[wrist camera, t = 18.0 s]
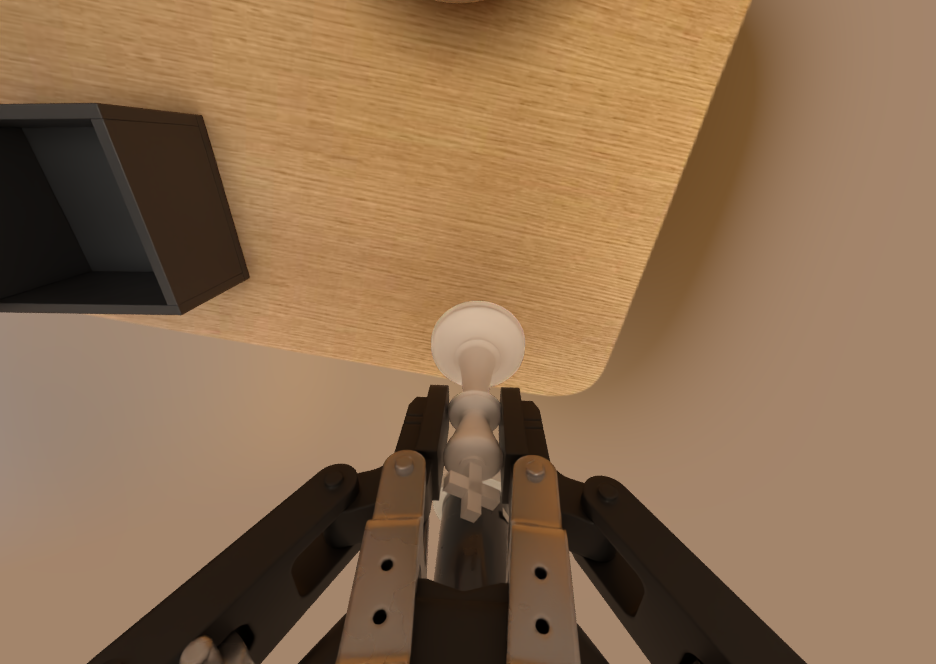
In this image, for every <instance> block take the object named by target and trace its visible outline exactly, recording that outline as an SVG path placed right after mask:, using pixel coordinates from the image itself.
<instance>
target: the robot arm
mask: <svg viewBox="0 0 936 664" xmlns="http://www.w3.org/2000/svg"><path fill="white" fill-rule="evenodd" d="M500 404H501V418H500V423H499V445H500V448H501V450H502V453H503V465H502V467H501V469H500V473H501V492H500V503H499V504H498V505H497V506H496V508H495V509H494V510H493V511H492V510H490V509H487V508H484V507H482V506H481V515H480V516H479V517H478V519H477V520H476V521H475V522H474V523H473V522H470V521H467V520H465V519H462V518H460V514H461V500H462V498H459V497H457V496H454V495H452V494H449V493H448V494H447V495H446V496H445V498H444V500H443V504H442V518H441V526H440V533H439V542H438V550H437V558H436V567H435V575H434V581H432V580H429V579H427V555H428V554H427V553H428V534H429V514H430V510H431V503H432V500H434V501H439V498H440V491H441V483H442V476H443V468H444V463H443V452H444V449H445V447H446V445H447V438H448V430H449V417H448V406H449V386H448V385H430V388H429V392H428V396H427V397H416V398H415V399H414V400H413V401H412V402H411V403H410V404H409V407H408V410H407V413H406V417H405V420H404V424H403V426H402V430H401V433H400V436H399V440H398V443H397V446H396V449H395V453H394V454H392V455H390V456H389V457H388V458H387V459H386V461H385V462H384V464H383V466H381V467H380V468H377V469H374V470H371V471H366V472H362V473H357V472H356V470H355V469H354V468H353V467H352V466H350V465H347V464H334V465H331V466H328V467H326V468H324V469H322V470H321V471H320V472H318V473H317V474H316V475H315V476H313V477H312V478H311V479H310V480H309V481H307V482H306V483H305V484H304V485H303V486H301V487H300V488H299V489H298V490H297V491H295V492H294V493H293V494H292V495H291V496H289V497H288V498H287V499H286V500H284V501H283V502H282V503H281V504H280V505H278V506H277V507H276V508H275V509H273V510H272V511H271V512H270V513H269V514H267V515H266V516H265V517H264V518H263V519H261V520H260V521H259V522H258V523H257V524H255V525H254V526H253V527H252V528H250V529H249V530H248V531H247V532H246V533H244V534H243V535H242V536H241V537H240V538H238V539H237V540H236V541H235V542H233V543H232V544H231V545H230V546H229V547H228V548H226V549H225V550H224V551H223V552H221V553H220V554H219V555H218V556H216V557H215V558H214V559H213V560H212V561H210V562H209V563H208V564H207V565H206V566H204V567H203V568H202V569H201V570H200V571H199V572H197V573H196V574H195V575H194V576H192V577H191V578H190V579H189V580H188V581H186V582H185V583H184V584H182V585H181V586H180V587H179V588H178V589H176V590H175V591H174V592H173V593H172V594H170V595H169V596H168V597H167V598H166V599H164V600H163V601H162V602H161V603H160V604H158V605H157V606H156V607H155V608H153V609H152V610H151V611H150V612H149V613H148V614H146V615H145V616H144V617H142V618H141V619H140V620H139V621H138V622H137V623H135V624H134V625H133V626H132V627H131V628H129V629H128V630H127V631H126V632H124V633H123V634H122V635H121V636H119V637H118V638H117V639H116V640H115V641H113V642H112V643H111V644H110V645H108V646H107V647H106V648H105V649H104V650H102V651H101V652H100V653H99V654H98V655H96V656H95V657H94V658H93V659H92V660H91V661H89V662H88V663H87V664H261V663H262V661H263V660H264V659H265V658H266V657H267V656H268V654H269V653H270V652H271V651H272V650H273V649H274V648H275V646H276V645H277V644H278V643H279V642H280V641H281V640H282V638H283V637H284V636H285V635H286V634H287V633H288V632H289V630H290V629H291V628H292V627H293V626H294V625H295V623H296V622H297V621H298V620H299V619H300V618H301V617H302V615H303V614H304V613H305V612H306V611H307V609H308V608H310V606H311V605H312V604H313V603H314V602H315V601H316V600H317V598H318V597H319V596H320V595H321V594H322V593H323V591H324V590H325V589H326V588H327V587H328V586H329V585H330V583H331V582H332V581H333V580H334V579H335V578H336V577H337V575H338V574H339V573H340V572H341V571H342V570H343V569H344V567H345V566H346V565H347V564H348V563H349V562H350V561H351V559H352V558H353V557H354V556H355V555H356V554H357V553H358V551H359V550H360V553H359V558H358V563H357V567H356V572H355V577H354V581H353V586H352V591H351V596H350V600H349V605H348V610H347V613H346V614H345V615H344V616H343V617H342V618H341V619H340V620H339V621H338V622H337V623H336V624H335V625H334V626H333V627H332V628H331V630H330V631H329V632H328V633H327V634H326V635H325V636H324V637H323V638H322V639H321V640H320V641H319V642H318V643H317V644H316V645H315V646H314V647H313V648H312V649H311V650H310V652H309V653H308V654H307V655H306V656H305V657H304V658H303V659H302V660H301V661H300V662H299V663H298V664H609V663H608V662H607V660H606V659H605V658H604V656H603V655H602V654H601V653H600V651H599V650H598V649H597V647H596V646H595V645H594V644H593V643H592V641H591V640H590V639H589V637H588V636H587V635H586V633H585V632H584V631H583V630H582V628H581V627H580V626H579V625H578V624H577V623H576V613H575V604H574V595H573V586H572V575H571V566H570V557H569V551H571V552H572V554H573V556H574V558H575V560H576V561H577V563H578V564H579V565H580V567H581V568H582V569H583V571H584V572H585V573H586V575H587V576H588V577H589V579H590V580H591V582H592V583H593V584H594V586H595V587H596V589H597V590H598V591H599V593H600V594H601V595H602V597H603V598H604V600H605V601H606V602H607V604H608V605H609V606H610V608H611V609H612V611H613V612H614V613H615V615H616V616H617V617H618V619H619V620H620V622H621V623H622V624H623V626H624V627H625V628H626V630H627V631H628V633H629V634H630V635H631V637H632V638H633V639H634V641H635V642H636V644H637V645H638V646H639V648H640V649H641V650H642V652H643V653H644V655H645V656H646V657H647V659H648V660H649V661H650V663H651V664H807V663H806V662H805V661H804V660H803V659H801V658H800V656H798V655H797V654H796V653H795V652H794V651H793V650H792V649H791V648H790V647H789V646H788V645H787V644H786V643H785V642H784V641H783V640H782V639H781V638H780V637H779V636H778V635H777V634H776V633H775V632H774V631H773V630H772V629H771V628H770V627H769V626H768V625H766V623H764V621H762V620H761V619H760V618H759V617H758V616H757V615H756V614H755V613H754V612H753V611H752V610H751V609H750V608H749V607H748V606H747V605H746V604H745V603H744V602H743V601H742V600H741V599H740V598H739V597H738V596H737V595H736V594H735V593H734V592H732V590H730V588H729V587H727V586H726V585H725V584H724V583H723V582H722V581H721V580H720V579H719V578H718V577H717V576H716V575H715V574H714V573H713V572H712V571H711V570H710V569H709V568H708V567H707V566H706V565H705V564H704V563H703V562H702V561H701V560H700V559H699V558H698V557H696V555H694V553H692V552H691V551H690V550H689V549H688V548H687V547H686V546H685V545H684V544H683V543H682V542H681V541H680V540H679V539H678V538H677V537H676V536H675V535H674V534H673V533H672V532H671V531H670V530H669V529H668V528H667V527H666V526H665V525H664V524H663V523H662V522H661V521H659V520H658V519H657V518H656V517H655V516H654V515H653V514H652V513H651V512H650V511H649V510H648V509H647V508H646V507H645V506H644V505H643V504H642V503H641V502H640V501H639V500H638V499H637V498H636V497H635V496H634V495H633V494H632V493H631V492H630V491H629V490H628V489H627V488H626V487H624V486H623V485H622V484H621V483H620V482H618V481H616V480H615V479H612V478H610V477H606V476H593V477H591V478H589V479H588V480H587V481H586V482H585V483H582V482H579V481H576V480H573V479H570V478H567V477H565V476H563V475H562V474H560V473H559V472H558V471H557V470H556V469H555V467H554V465H552V463H551V462H550V459H549V454H548V449H547V444H546V439H545V434H544V430H543V424H542V421H541V420H542V419H541V415H540V410H539V409H538V407H537V406H536V405H535V404H534V403H533V401H521V396H520V389H519V388H506V387H501V394H500Z"/></svg>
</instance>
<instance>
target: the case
mask: <svg viewBox="0 0 936 664" xmlns="http://www.w3.org/2000/svg"><path fill="white" fill-rule="evenodd" d="M248 278H249V275H248V271H247V268H246V264H245V261H244V258H243V254H242V251H241V247H240V244H239V240H238V237H237V234H236V230H235V227H234V223H233V220H232V217H231V213H230V210H229V206H228V203H227V199H226V196H225V193H224V189H223V186H222V182H221V179H220V176H219V172H218V169H217V165H216V162H215V158H214V155H213V152H212V148H211V145H210V141H209V138H208V135H207V131H206V128H205V124H204V121H203V117H202V116H201V115H194V114H186V113H178V112H169V111H161V110H152V109H143V108H135V107H126V106H118V105H109V104H101V103H50V104H0V312H15V313H78V314H144V315H183V314H184V313H186V312H188V311H190V310H192V309H194V308H195V307H197V306H199V305H201V304H203V303H205V302H206V301H208V300H210V299H212V298H214V297H216V296H217V295H219V294H221V293H223V292H225V291H227V290H228V289H230V288H232V287H234V286H236V285H238V284H239V283H241V282H243V281H245V280H246V279H248Z"/></svg>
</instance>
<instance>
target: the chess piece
mask: <svg viewBox="0 0 936 664" xmlns="http://www.w3.org/2000/svg"><path fill="white" fill-rule="evenodd" d="M431 351H432V356H433V359H434V362H435V364H436V366H437V367H438V369H439V370H440V371H441V372H442V374H443V375H445V376H446V377H447V378H448V379H450V380H451V381H453V382H455V383H457V384H459V385H462V387H463V392H461V393H459V394H457V395H456V396H455V397H454V398H453V399H452V400H451V402H450V403H449V406H448V417H449V420H450V422H451V424H452V426H453V427H454V428H455V429H456V431H455V433H454V435H453V436H452V437H451V438H450V440H449V441H448V443H447V445H446V447H445V449H444V452H443V463H444V466H445V468H446V469H447V471H448V472H449V473H448V474H447V476H446V477H445V478H444V484H443V491H444V492H446V493H449V494H452V495H454V496H457V497H459V498H462V500H461V514H460V518H462V519H465V520H467V521H470V522H473V523H474V522H475V521H476V520H477V519H478V517H479V516H480V515H481V506H482V507H484V508H487V509H490V510H492V511H493V510H494V509H495V508H496V506H497V505H498V504H499V503H500V490H498V489H496V488H493V487H491V486H488V485H486V484H483V483H482V481H486V480H488V479H490V478H492V477H494V476H495V475H496V474H497V473H498V472H499V471H500V469H501V467H502V465H503V453H502V450H501V448H500V445H499V443H498V441H497V440H496V439H495V437H494V435H493V432H492V431H493V430H494V429H496V428H497V426H498V425H499V423H500V418H501V404H500V402H499V401H498V400H497V399H496V398H495V397H494V396H493V395H491V394H490V393H489V389H490V387H492V386H496V385H498V384H500V383H502V382H504V381H506V380H507V379H509V378H510V377H511V376H512V375H513V374H514V373H515V372H516V371H517V370H518V368H519V367H520V365H521V363H522V360H523V357H524V352H525V335H524V331H523V329H522V326H521V324H520V323H519V321H518V320H517V318H516V317H515V316H514V315H513V314H512V313H511V312H510V311H508V310H507V309H505V308H504V307H502V306H500V305H497V304H495V303H491V302H487V301H468V302H464V303H461V304H458V305H456V306H454V307H452V308H450V309H449V310H447V311H446V312H445V313H444V314H443V315H442V316H441V317H440V318H439V320H438V321H437V323H436V324H435V326H434V329H433V332H432V337H431Z"/></svg>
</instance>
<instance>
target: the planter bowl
mask: <svg viewBox="0 0 936 664" xmlns="http://www.w3.org/2000/svg"><path fill="white" fill-rule="evenodd" d="M435 1H439V2H445V3H470V2H477V1H482V0H435Z"/></svg>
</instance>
